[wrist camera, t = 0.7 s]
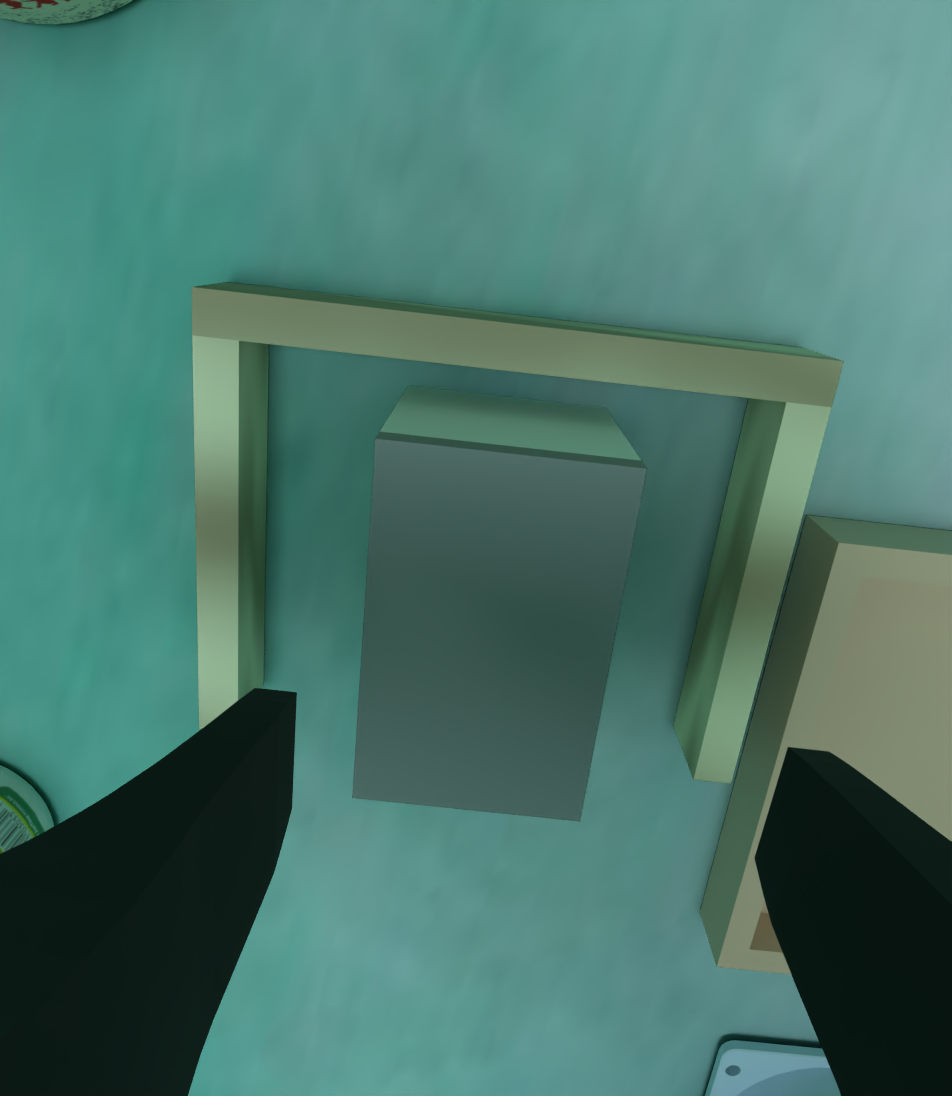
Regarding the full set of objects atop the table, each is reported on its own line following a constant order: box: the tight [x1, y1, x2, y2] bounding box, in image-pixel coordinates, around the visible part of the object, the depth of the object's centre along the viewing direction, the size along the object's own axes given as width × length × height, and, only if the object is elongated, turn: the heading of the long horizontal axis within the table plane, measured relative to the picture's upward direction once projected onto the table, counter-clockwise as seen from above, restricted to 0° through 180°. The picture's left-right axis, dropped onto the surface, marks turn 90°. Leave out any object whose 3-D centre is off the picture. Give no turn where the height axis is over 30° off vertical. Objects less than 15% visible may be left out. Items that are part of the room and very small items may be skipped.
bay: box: [192, 282, 844, 783], centre depth 20 cm, size 11×14×2 cm
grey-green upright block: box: [352, 386, 647, 821], centre depth 19 cm, size 8×5×6 cm, turn 174°
